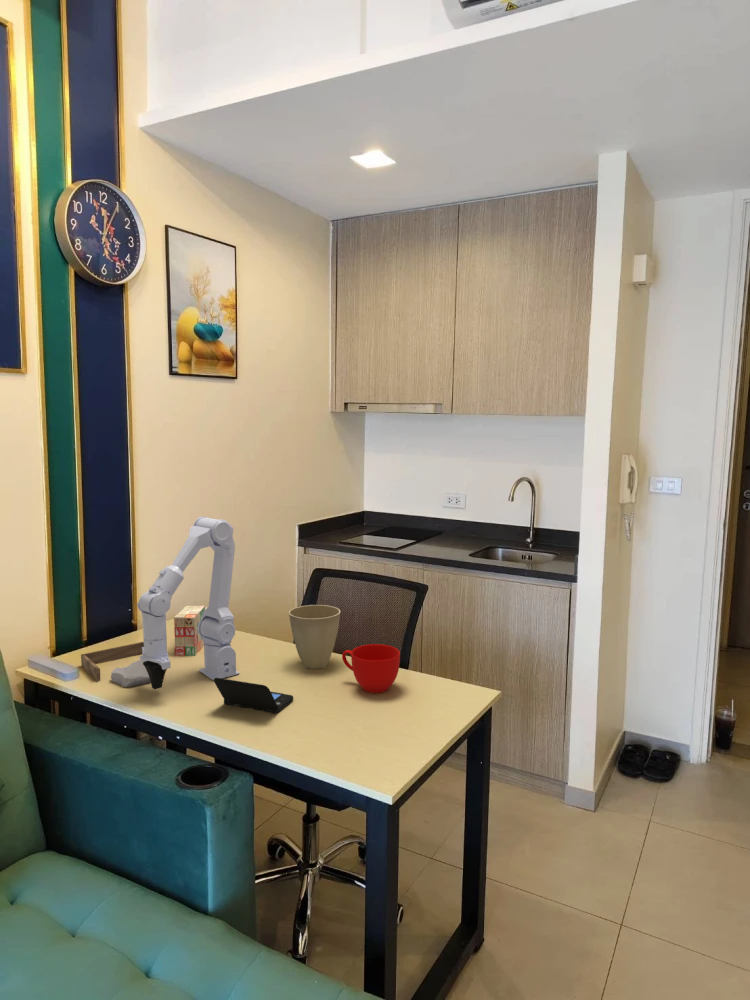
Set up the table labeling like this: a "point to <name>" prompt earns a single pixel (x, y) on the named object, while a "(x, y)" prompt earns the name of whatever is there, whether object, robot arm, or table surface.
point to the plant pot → (314, 633)
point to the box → (108, 657)
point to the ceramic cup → (374, 666)
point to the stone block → (131, 674)
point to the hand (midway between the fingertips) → (157, 687)
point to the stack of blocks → (188, 631)
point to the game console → (251, 696)
